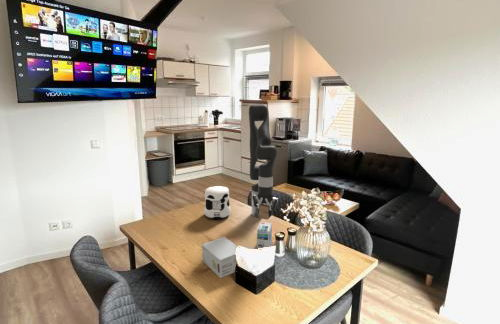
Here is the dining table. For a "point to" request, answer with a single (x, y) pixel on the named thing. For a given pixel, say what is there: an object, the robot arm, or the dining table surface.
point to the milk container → (217, 202)
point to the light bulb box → (264, 235)
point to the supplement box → (220, 256)
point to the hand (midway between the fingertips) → (265, 215)
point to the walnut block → (264, 211)
